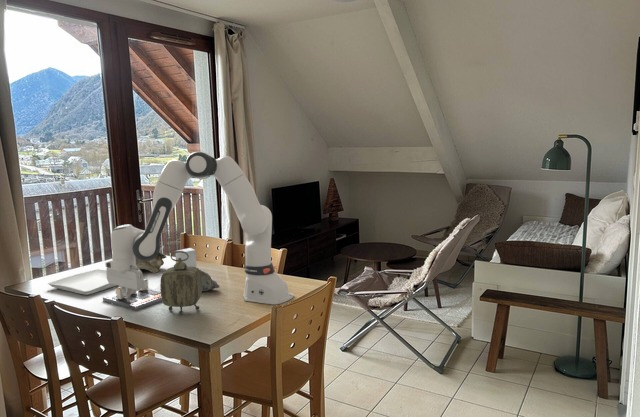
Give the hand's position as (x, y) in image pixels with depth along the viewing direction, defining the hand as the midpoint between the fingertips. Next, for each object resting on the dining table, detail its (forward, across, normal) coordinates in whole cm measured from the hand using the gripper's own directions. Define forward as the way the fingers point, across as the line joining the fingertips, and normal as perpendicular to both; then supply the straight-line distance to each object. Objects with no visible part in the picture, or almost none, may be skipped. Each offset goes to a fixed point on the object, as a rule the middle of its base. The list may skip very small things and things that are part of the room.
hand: (126, 296), depth 201 cm
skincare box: (+4, +6, -38) cm, 39 cm away
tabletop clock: (+4, -28, -5) cm, 28 cm away
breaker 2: (+1, +6, -12) cm, 13 cm away
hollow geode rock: (+4, +42, -38) cm, 57 cm away
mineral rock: (+4, -14, -29) cm, 32 cm away
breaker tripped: (+1, +4, 0) cm, 4 cm away
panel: (+4, +2, -6) cm, 7 cm away
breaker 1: (+1, +6, -6) cm, 8 cm away
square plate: (+4, +38, -8) cm, 39 cm away
